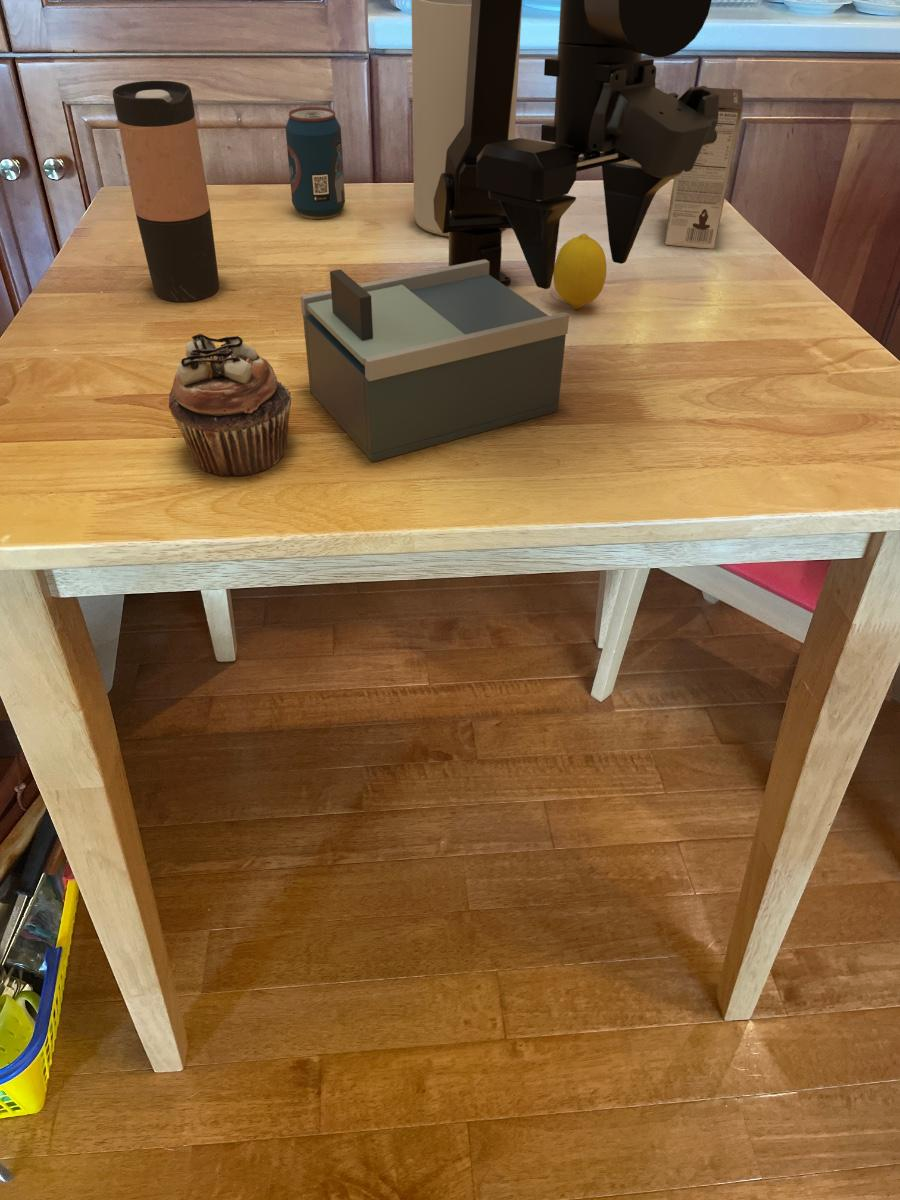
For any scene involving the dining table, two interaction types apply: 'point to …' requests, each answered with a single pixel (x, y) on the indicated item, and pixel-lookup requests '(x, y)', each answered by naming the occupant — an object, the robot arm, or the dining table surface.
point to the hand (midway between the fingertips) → (582, 274)
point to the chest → (442, 366)
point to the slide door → (378, 318)
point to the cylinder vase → (440, 94)
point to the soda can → (315, 162)
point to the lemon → (580, 271)
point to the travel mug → (168, 187)
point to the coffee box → (706, 181)
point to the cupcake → (230, 407)
